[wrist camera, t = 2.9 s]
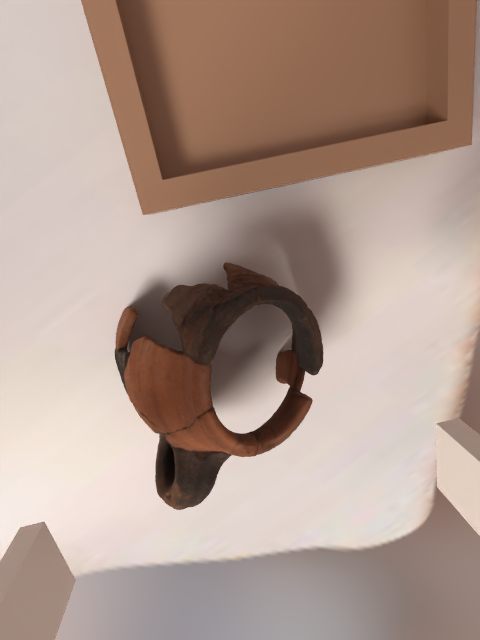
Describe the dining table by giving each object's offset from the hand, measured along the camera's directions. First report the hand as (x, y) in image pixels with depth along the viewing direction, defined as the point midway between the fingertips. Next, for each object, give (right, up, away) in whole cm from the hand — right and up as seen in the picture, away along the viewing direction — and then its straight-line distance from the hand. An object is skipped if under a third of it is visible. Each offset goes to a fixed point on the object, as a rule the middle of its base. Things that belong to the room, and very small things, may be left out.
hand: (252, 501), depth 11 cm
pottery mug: (-3, +4, +8) cm, 10 cm away
